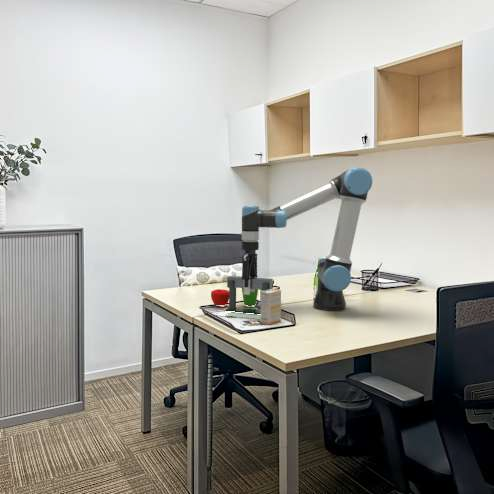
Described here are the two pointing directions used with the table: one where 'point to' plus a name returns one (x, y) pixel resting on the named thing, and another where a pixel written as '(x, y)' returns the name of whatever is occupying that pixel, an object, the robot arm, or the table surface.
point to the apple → (220, 296)
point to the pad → (245, 315)
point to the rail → (254, 282)
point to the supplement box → (270, 306)
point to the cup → (250, 297)
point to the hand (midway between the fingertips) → (249, 293)
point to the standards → (233, 300)
